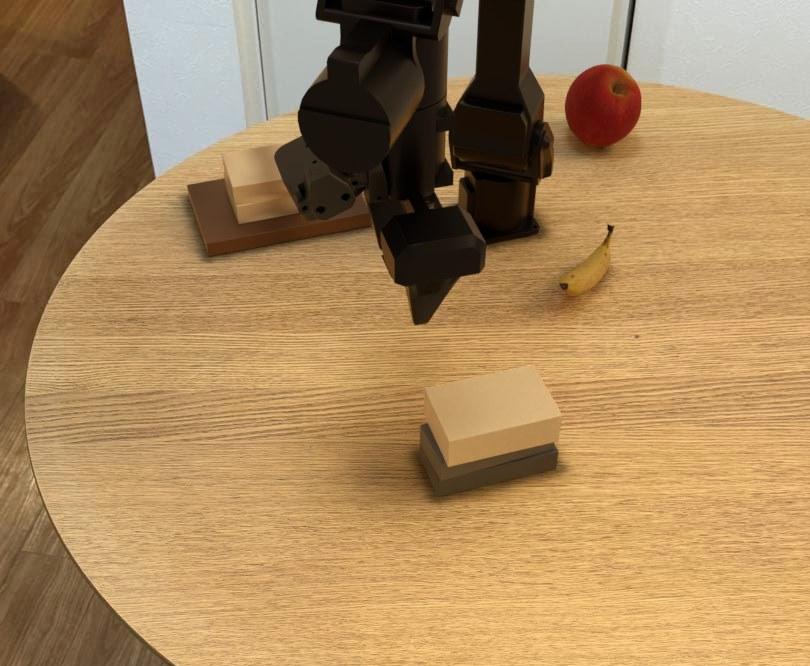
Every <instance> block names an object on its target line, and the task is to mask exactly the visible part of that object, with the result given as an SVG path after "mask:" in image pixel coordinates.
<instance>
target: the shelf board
mask: <svg viewBox="0 0 810 666" xmlns="http://www.w3.org/2000/svg"><path fill="white" fill-rule="evenodd" d="M286 143H287V142H284V143H283V142H282V143H276V144H271V145H264V146H257V147H251V148H245V149H237V150H231V151H230V150H229V151H225V152H221V159H222V166H223V172H222V173H223V178H218V179H213V180H207V181H206V180H205V181H201V182H194V183H189V184H187V185H186V188H187V194H188V199H189V202H190V206H191V208H192V211H193V214H194V217H195V220H196V223H197V225H198V229H199V232H200V234H201V237H202V241H203V243H204V247H205V249H206V252H207V256H208V257H215V256H218V255H219V256H220V255H225V254H229V253H236V252H239V251H246V250H251V249H256V248H261V247H267V246H271V245H277V244H282V243H287V242H292V241H293V242H294V241H298V240H303V239H309V238H314V237H320V236H324V235H330V234H335V233H340V232H346V231H351V230H356V229H361V228H365V227H371V226H372V221H371V217H370V214H369V210H368V206H367V203H366V200H365V198H364V197H363V195H362V193H361V194H360V195H359V196H357V197H356V201H355V204H354V206H353V207H352V208H351V209H349V210H347V211H345V212H342V213H340V214H338V215H336V216H334V217H332V218H330V219H328V220H326V221H321V220H314V221H306V220H304V219H303V218H302V217H301V215H300V213H299V211H298V209H297V207H296V205H295V203H294V202H293V200H292V198H291V196H290V194H289V192H288V190H287V188H286V187H285V185H284V183H283V180H282V178H281V175H280V173H279V170H278V167H277V165H276V162H275V160H274V155H275V152H276V151H277V150H278V149H279V148H280V147H281V146H283V145H284V144H286Z"/></svg>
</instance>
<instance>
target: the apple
mask: <svg viewBox="0 0 810 666" xmlns="http://www.w3.org/2000/svg"><path fill="white" fill-rule="evenodd" d="M641 113H642V93H641V89H640V87H639V84H638V83H637V81H636V80H635V78H633V76H632V75H631V74H630V73H629V72H628V71H627V70H626V69H624V68H623V67H621V66H618V65H614V64H610V63H609V64H607V63H602V64H596V65H593V66H591V67H589V68H586V69H585V70H583V71H582V72H580V74H578V75H577V77H575V78H574V80H573V81H572V82H571V84H570V86H569V88H568V90H567V93H566V95H565V101H564V115H565V120H566V123H567V125H568V128H569V130H570V131H571V133H572V134H573V135H574V136H575V137H576V138H577V139H578V140H580V141H581V142H582V143H584V144H585V145H587V146H589V147H607V146H612V145H615V144H616V143H618V142H620V141H622V140H623V139H624V138H626V137H627V136H628V135H629V134H630V133H631V132H632V131H633V130H634V129H635V127H636V125H637V124H638V122H639V120H640V117H641Z"/></svg>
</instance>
